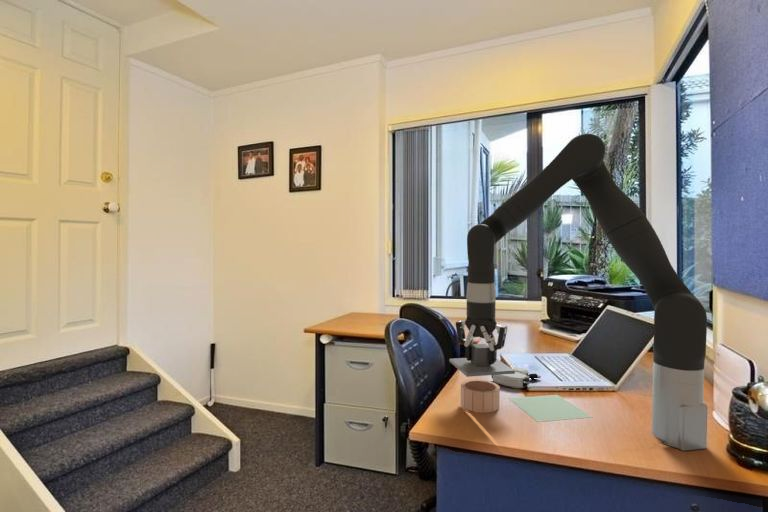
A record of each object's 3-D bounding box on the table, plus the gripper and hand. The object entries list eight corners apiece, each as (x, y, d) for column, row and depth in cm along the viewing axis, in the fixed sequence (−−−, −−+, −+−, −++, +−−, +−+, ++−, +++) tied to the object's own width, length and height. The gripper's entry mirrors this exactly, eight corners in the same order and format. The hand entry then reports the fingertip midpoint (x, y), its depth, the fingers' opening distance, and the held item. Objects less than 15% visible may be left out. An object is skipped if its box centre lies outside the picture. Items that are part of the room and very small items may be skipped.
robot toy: (506, 376, 138) (484, 385, 126) (507, 363, 138) (485, 370, 127) (543, 385, 129) (523, 395, 118) (543, 371, 129) (523, 379, 118)
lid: (514, 373, 104) (515, 351, 104) (466, 376, 102) (466, 353, 102) (492, 359, 117) (492, 339, 117) (449, 361, 115) (449, 341, 115)
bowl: (506, 414, 106) (506, 391, 106) (469, 417, 104) (469, 394, 104) (489, 399, 116) (489, 378, 116) (455, 402, 114) (456, 380, 114)
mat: (592, 420, 102) (592, 416, 102) (537, 425, 99) (537, 421, 99) (557, 397, 117) (557, 394, 117) (508, 401, 114) (508, 398, 114)
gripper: (512, 299, 108) (511, 363, 109) (461, 295, 116) (461, 354, 117) (502, 303, 102) (502, 370, 102) (450, 298, 110) (449, 360, 111)
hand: (480, 361), depth 110 cm, fingers closed on lid, 5 cm apart
